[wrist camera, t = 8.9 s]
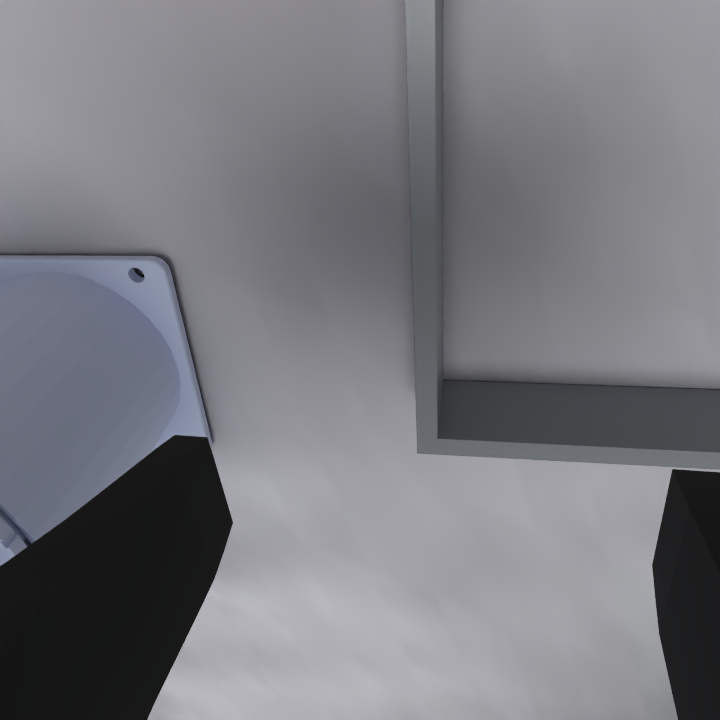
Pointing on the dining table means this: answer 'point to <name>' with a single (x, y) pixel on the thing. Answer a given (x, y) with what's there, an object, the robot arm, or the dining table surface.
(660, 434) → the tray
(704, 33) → the dining table surface
